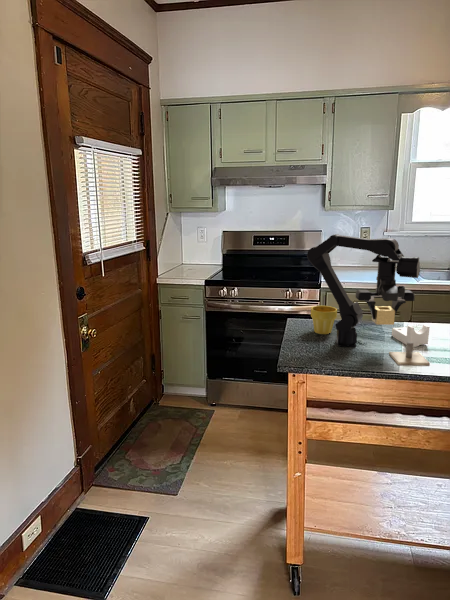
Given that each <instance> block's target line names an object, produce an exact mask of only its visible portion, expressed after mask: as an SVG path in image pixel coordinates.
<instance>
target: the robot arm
mask: <svg viewBox="0 0 450 600" xmlns="http://www.w3.org/2000/svg"><path fill="white" fill-rule="evenodd" d="M337 247H341V248H349V249H357V250H363V251H368V252H370V253H374V254H375V255H376V257H374V258H372V259H371V260H372V262H373V263H377V276H376V288H375V291H374V292H372V291H369V289H357V290H356V291H355V299H357V300H358V301H360V302H365V303H367V305H368V307H369V311H370V314H371V319H372V318H373V319H375V306H376V301H375V299H382V301H385V302H389V301H391V308H393V309H394V310H395V316H396V315H397V312H398V311H399V308H400V307H401V306H402V305H404V304H406V303H407V302H414V301H415V298H416V297H415V293H414V292H413V291H412V290H410V289H406V288H405V286H403V285H398V286H397V284H396V283H397V282H396V281H397V280H396V274H397V275H399V277H400V278H412V279H418V278H419V276H420V273H421V266H420V264H421V263H420V257H419V256H418V257H417V256H414V257H411V256H410V257H407V256H405V255H404V254H403V253H402V251H401V250H400V248H399V242H398V241H397V240H396V239H395V238H392V237H391V238H390V237H389V238H388V237H386V238H383V237H382V238H366V237H365V238H364V237H357V236H349V235H342V234H339V233H337V234H332V235H330V236H329V237H328V238H327V239H326V240H324V241H323V242H321V243H320V244H318V245H317V246H314V247H311V248H309V249H308V251H307V254H306V257H307V260H308V262H310V264H311V265H312V266H313V267H314V268H315V269H316V270H318V272H319V273H320V274H321V276H322V278H323V280H324V281H325V283H326V285H327V286H328V289H329V290H330V293H331V294H332V297H334V299H335V302H336V304H337V305H338V310H339V315H340V320H339V321H338V322H336V323H335V328H336V339H335V340H334V341H335V343H336V345H337V347H349V348H350V347H352V348H353V347H357V343H358V342H357V340H358V333H357V329H356V326H357V325H358V324H359V323H361V321H362V320H363V317H364V314H363V312H364V310H363V309H362V308H361V307H360V304H359V302H358V301H355V302H354V301H352V300H351V299H350V297H349V296H348V295H349V294H347V292H346V290H345V288H344V286H343V284H342V283H341V280H340V279H339V278H338V275H337V274H336V272H335V270H334V269H333V268H334V267H332V262H331V261H332V260H331V256H330V254H329V253H331V252H333V251H334V250H335V249H336V248H337Z"/></svg>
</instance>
